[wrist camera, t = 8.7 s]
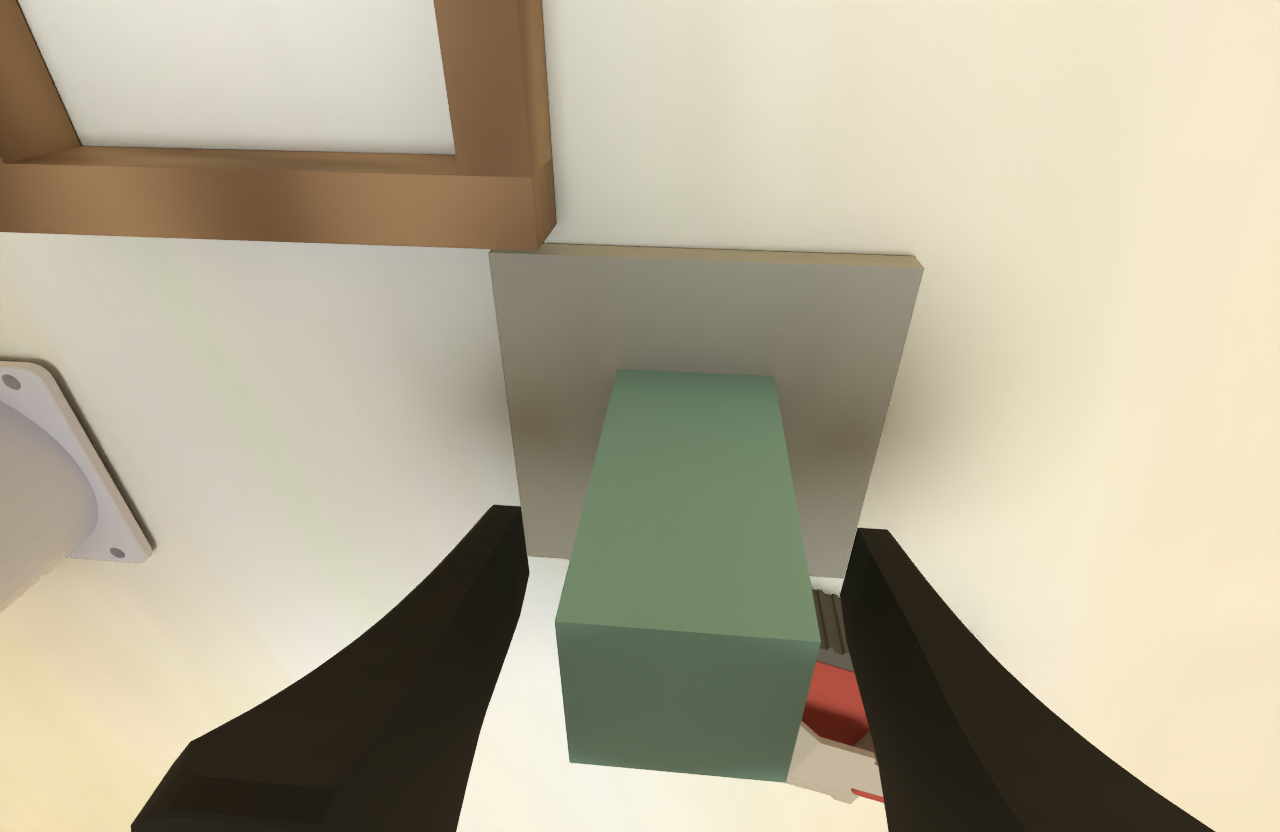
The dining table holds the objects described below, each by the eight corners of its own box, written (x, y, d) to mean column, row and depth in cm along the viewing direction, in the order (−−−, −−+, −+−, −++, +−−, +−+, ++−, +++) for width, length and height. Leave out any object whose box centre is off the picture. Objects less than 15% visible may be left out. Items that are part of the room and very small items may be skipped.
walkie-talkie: (567, 670, 26) (1005, 795, 28) (543, 783, 22) (1051, 917, 24) (635, 519, 21) (1159, 684, 23) (619, 631, 17) (1246, 815, 19)
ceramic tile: (533, 538, 21) (527, 556, 20) (497, 242, 16) (488, 252, 15) (839, 559, 20) (843, 578, 20) (914, 256, 15) (923, 268, 14)
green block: (619, 489, 19) (569, 762, 12) (617, 369, 16) (554, 620, 10) (757, 497, 18) (786, 782, 12) (774, 376, 16) (821, 642, 9)
